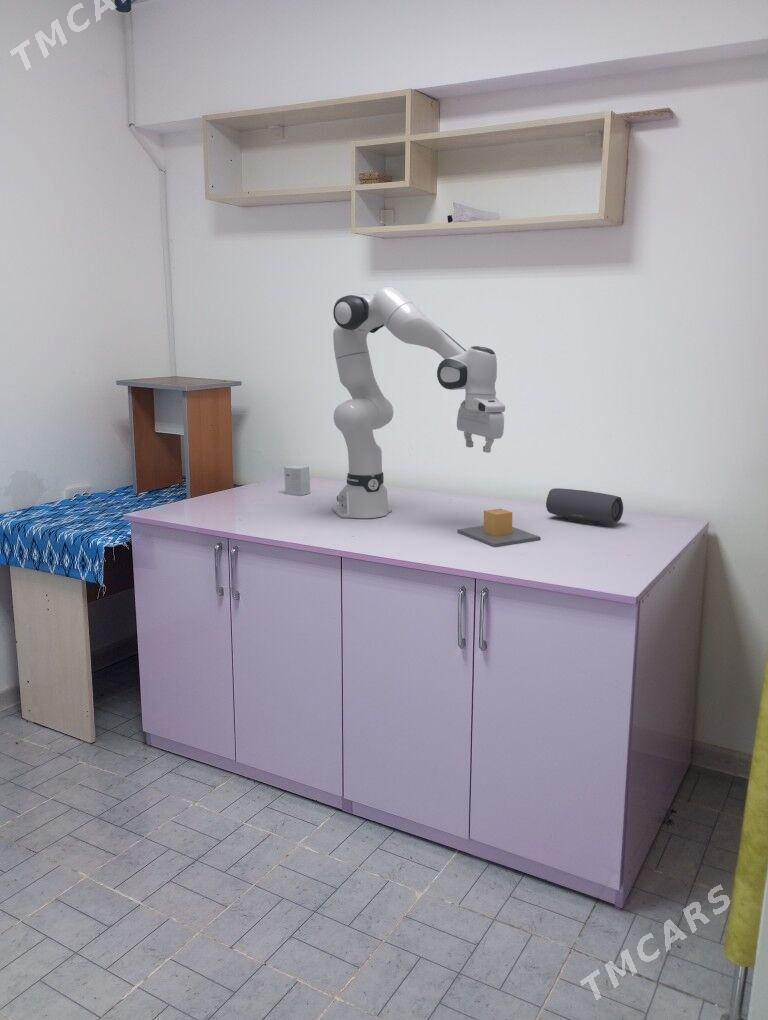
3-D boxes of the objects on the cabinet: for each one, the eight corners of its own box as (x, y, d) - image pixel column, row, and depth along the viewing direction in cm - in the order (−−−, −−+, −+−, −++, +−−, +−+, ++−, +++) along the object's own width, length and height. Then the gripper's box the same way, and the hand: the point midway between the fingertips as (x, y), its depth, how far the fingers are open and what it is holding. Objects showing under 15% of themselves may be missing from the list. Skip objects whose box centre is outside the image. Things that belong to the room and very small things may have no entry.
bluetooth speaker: (623, 524, 260) (625, 492, 258) (609, 529, 253) (611, 497, 251) (559, 514, 275) (560, 484, 273) (544, 519, 268) (545, 488, 266)
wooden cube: (483, 532, 249) (483, 510, 247) (500, 529, 251) (500, 508, 250) (495, 536, 243) (495, 514, 242) (512, 533, 246) (512, 512, 245)
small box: (310, 493, 317) (309, 466, 315) (301, 496, 312) (300, 468, 310) (294, 491, 321) (293, 464, 319) (285, 494, 316) (283, 466, 314)
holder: (457, 532, 253) (457, 518, 252) (501, 526, 260) (501, 512, 259) (494, 547, 235) (494, 531, 234) (540, 540, 242) (540, 525, 241)
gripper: (452, 399, 252) (450, 444, 255) (490, 407, 234) (487, 455, 237) (470, 399, 254) (468, 443, 258) (508, 406, 237) (506, 454, 240)
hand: (478, 449), depth 247 cm, fingers open, 8 cm apart
